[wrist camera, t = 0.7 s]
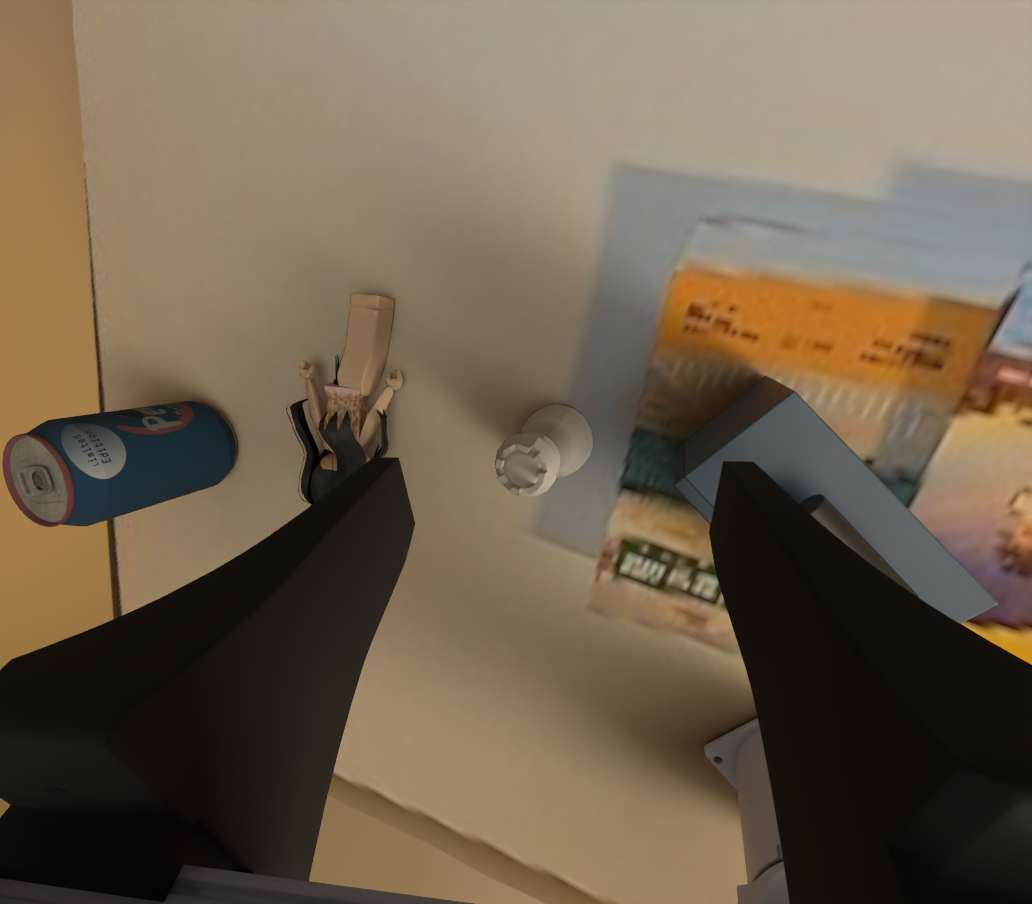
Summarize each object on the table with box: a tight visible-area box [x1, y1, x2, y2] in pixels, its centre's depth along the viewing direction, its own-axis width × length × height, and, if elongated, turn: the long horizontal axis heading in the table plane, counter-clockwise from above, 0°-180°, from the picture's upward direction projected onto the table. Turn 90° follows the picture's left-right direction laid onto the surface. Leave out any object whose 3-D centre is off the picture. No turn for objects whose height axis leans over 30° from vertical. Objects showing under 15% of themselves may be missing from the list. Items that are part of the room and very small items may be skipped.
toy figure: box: [286, 294, 403, 505], centre depth 33 cm, size 7×6×15 cm
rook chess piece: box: [495, 404, 593, 497], centre depth 28 cm, size 4×4×8 cm
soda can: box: [3, 401, 238, 527], centre depth 36 cm, size 7×7×12 cm
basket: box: [674, 376, 998, 623], centre depth 23 cm, size 11×11×6 cm
